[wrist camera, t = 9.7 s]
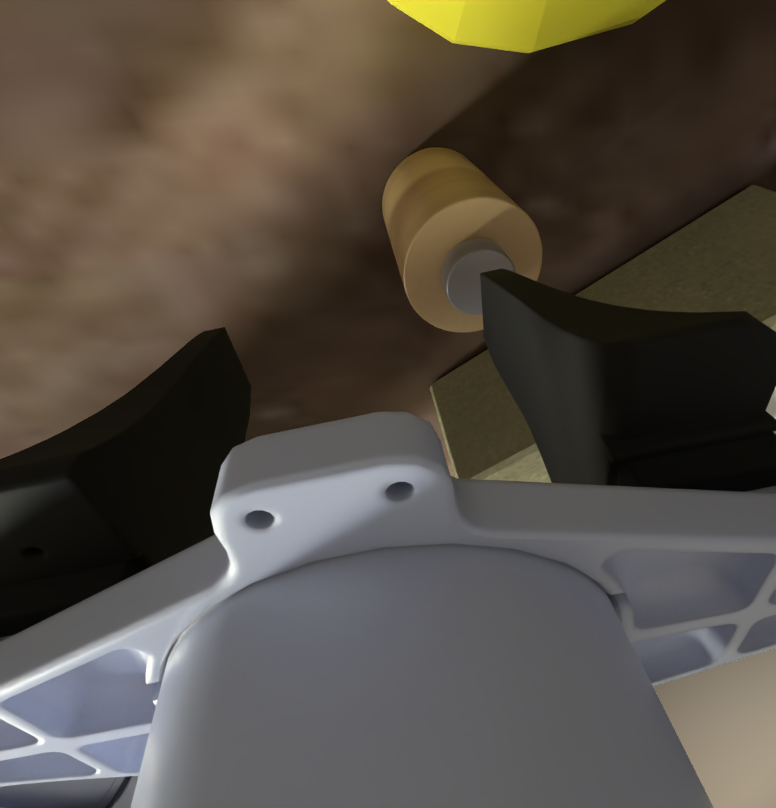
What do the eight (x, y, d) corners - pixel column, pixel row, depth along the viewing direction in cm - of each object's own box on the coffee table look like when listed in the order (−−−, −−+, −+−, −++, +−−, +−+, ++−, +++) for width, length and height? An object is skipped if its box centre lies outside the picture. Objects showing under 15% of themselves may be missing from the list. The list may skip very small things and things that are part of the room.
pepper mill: (485, 242, 23) (552, 332, 16) (391, 263, 23) (418, 360, 16) (480, 135, 20) (557, 190, 13) (372, 160, 20) (395, 226, 13)
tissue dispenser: (760, 176, 22) (1307, 364, 10) (785, 322, 28) (1159, 563, 15) (423, 386, 28) (501, 675, 15) (499, 474, 33) (601, 740, 21)
